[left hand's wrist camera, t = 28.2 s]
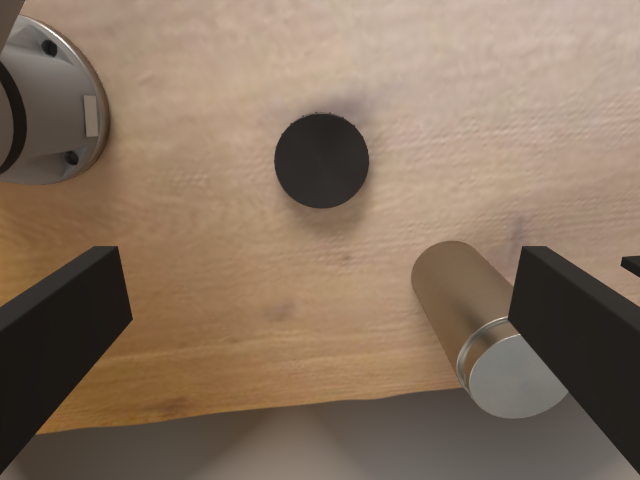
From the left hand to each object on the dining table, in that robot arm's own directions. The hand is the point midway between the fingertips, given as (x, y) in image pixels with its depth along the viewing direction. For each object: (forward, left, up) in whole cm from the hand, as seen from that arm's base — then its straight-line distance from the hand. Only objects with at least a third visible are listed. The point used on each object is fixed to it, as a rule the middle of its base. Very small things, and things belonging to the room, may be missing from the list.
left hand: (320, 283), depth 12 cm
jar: (+15, -13, -28) cm, 34 cm away
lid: (0, 0, -26) cm, 26 cm away
